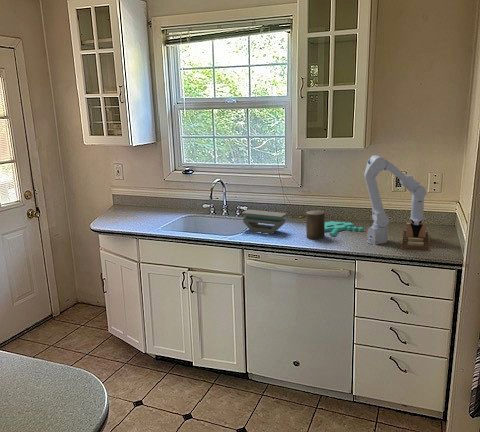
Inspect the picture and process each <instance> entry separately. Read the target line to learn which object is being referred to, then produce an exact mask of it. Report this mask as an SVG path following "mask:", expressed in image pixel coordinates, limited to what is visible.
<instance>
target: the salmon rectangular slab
mask: <svg viewBox="0 0 480 432" xmlns="http://www.w3.org/2000/svg"><path fill="white" fill-rule="evenodd" d="M410 223H411V222H406V230H405V231H406V236H408V237H413V230H412V227H411V225H410ZM419 224H423V226H422V227H421V229H420V232H419V236H418V237H423V238H425V235H426V232H427V223H422V222H421V223H419Z"/></svg>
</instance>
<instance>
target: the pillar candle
mask: <svg viewBox="0 0 480 432" xmlns="http://www.w3.org/2000/svg"><path fill="white" fill-rule="evenodd" d="M305 213H306V214H305V215H306V216H305V217H306V220H305V221H306V238H307V239H310V240H321V239H322V240H323V239H324V238H325V236H326V235H325V233H326V232H325V221H326V220H325V217H326V216H325V211H323V210H320V209H317V210H315V209H314V210H308V211H306V212H305Z"/></svg>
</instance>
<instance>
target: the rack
mask: <svg viewBox="0 0 480 432" xmlns="http://www.w3.org/2000/svg"><path fill="white" fill-rule="evenodd" d="M410 238H423V237H410ZM408 242H422V241H408V236H406V230H403V233H402V235H401V244H400V250H407V251H420V252H431V246H430V245H431V242H430V235H429V232H428V231H426V235H425V238H423V243H424V245H423V246H418V245H408Z"/></svg>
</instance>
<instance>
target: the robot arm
mask: <svg viewBox="0 0 480 432" xmlns="http://www.w3.org/2000/svg"><path fill="white" fill-rule="evenodd" d="M383 170H384V171H386V172H389V173H391V174H392V175H394V176H395V177H396V178H398V179H399V183H400V184H401V186H402V187H404V188H405V189H406V190H408V191H409V192H410V194H411V203H410V204H411V207H410V217H409V218H410V219H409V220H410V221H411V222H409V223H410V225H411V227H412V230H413V237H418V236H419V232H420V229H421V227H422V226H423V224H424V223H423V224H419V223H422V221H423V220H426V217H425V216H424V210H425V209H424V207H425V196H427V194H428V193H427V189H426V187H424V186H423V185H421V182H420V181H417V180H416V179H415V178H414V176H413V175H411V174H404V173H403V172H402V171H401V170H400V169H399V168H398V167H397V166H395V165H394V164H393V163H392V162H391V161H389V160H387V159H385V158H384V157H382V156H380V155H378V154H374V155H372V156H370V158H368V160H367V162H366V167H365V171H364V172H363V173H364V174H363V177H364V180H365V181H364V182H365V184H366V185H365V186H366V188H367V193H368V196H369V200H370V204H371V211H372V215H371V219H372V221H373V223H372V226H370V227H368V228H367V231H366V232H367V233H366V241H365V242H366V243H368V244H371V245H379V244H385V243H387V242H388V228H389V227H388V226H389V223H390V218H389V216H388V215H387V214H386V211H385V209H384V206H383V201H382V199H381V194H380V190H379V186H378V182H377V176H378V174H379V173H380V172H382V171H383Z"/></svg>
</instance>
